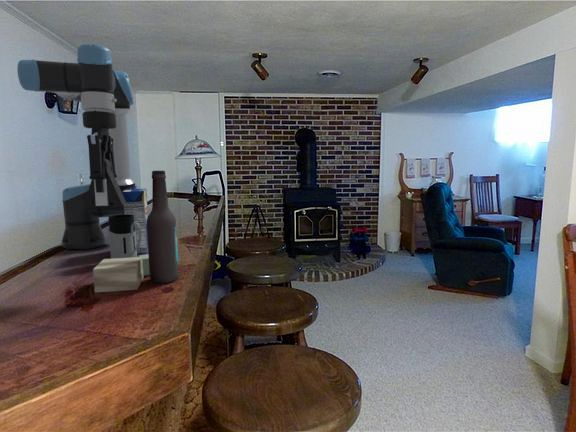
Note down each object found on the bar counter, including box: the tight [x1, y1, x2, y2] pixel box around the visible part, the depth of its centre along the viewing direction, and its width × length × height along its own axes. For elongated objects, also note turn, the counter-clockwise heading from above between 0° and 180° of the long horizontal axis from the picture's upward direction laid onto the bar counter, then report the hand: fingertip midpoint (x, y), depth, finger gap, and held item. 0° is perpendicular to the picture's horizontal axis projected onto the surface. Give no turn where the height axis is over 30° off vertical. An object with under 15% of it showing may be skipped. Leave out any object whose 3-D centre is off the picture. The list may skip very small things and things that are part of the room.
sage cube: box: [138, 253, 150, 277], centre depth 113 cm, size 5×5×5 cm
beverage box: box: [122, 188, 149, 255], centre depth 138 cm, size 7×11×22 cm, turn 16°
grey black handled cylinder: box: [107, 214, 141, 259], centre depth 122 cm, size 9×14×15 cm, turn 55°
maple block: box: [92, 256, 144, 293], centre depth 102 cm, size 10×10×6 cm
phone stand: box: [84, 159, 126, 208], centre depth 99 cm, size 9×6×12 cm, turn 104°
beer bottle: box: [147, 170, 179, 284], centre depth 104 cm, size 8×8×30 cm
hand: (106, 203), depth 99 cm, fingers closed on phone stand, 6 cm apart
